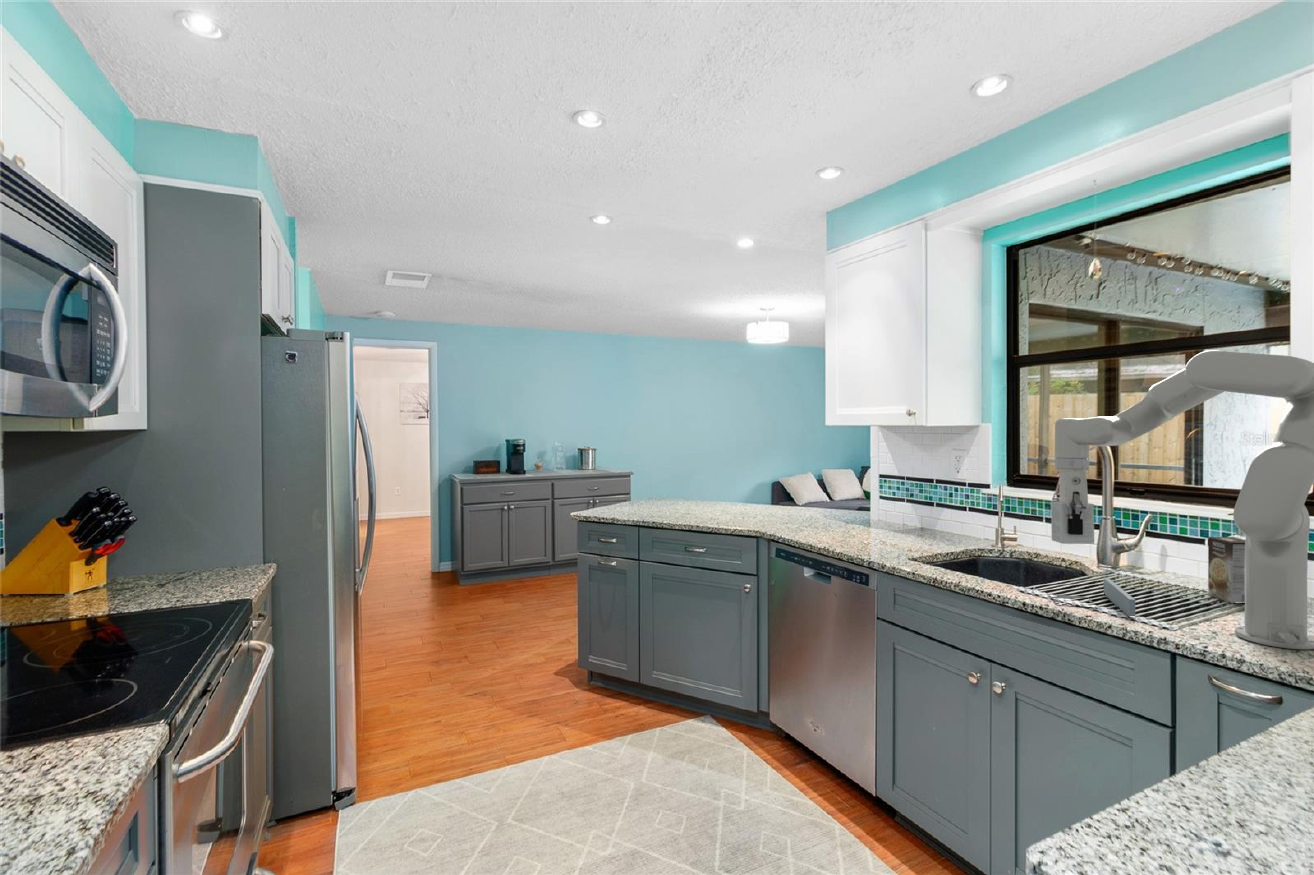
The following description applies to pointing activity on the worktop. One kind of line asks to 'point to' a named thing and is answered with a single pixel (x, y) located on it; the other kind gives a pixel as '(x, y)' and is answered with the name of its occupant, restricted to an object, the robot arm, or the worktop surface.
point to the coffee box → (1226, 568)
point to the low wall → (1119, 597)
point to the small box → (1061, 524)
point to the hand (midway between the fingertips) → (1072, 531)
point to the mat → (1067, 597)
